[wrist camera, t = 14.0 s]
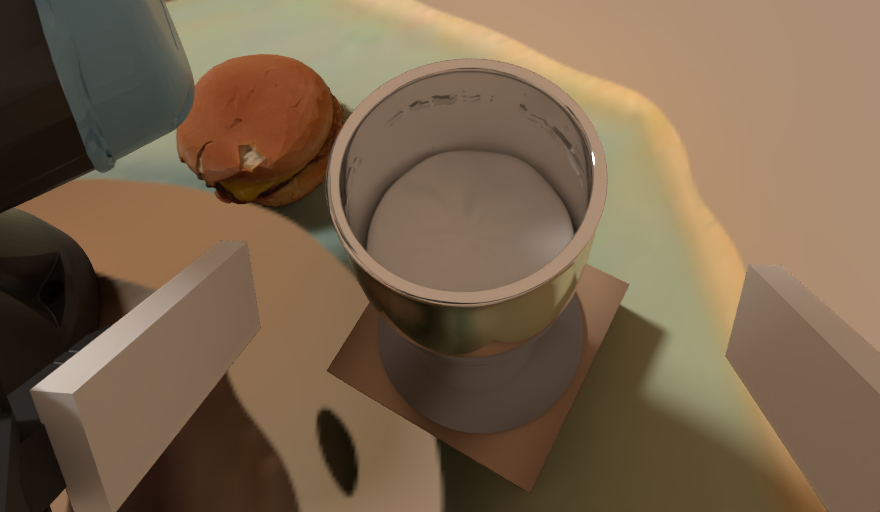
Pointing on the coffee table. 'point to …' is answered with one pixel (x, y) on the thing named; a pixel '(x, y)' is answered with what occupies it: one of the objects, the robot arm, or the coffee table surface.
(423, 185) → the silver metal cup
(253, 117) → the burger
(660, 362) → the coffee table surface
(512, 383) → the walnut plinth
